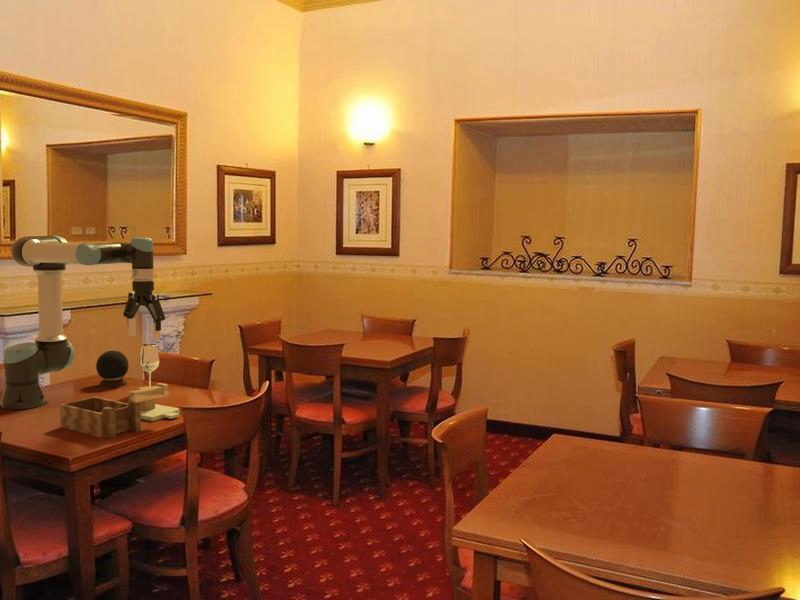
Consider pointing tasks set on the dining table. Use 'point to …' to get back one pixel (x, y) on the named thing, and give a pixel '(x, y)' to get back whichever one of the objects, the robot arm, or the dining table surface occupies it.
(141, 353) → the wineglass
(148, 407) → the lid
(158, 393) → the light wooden bar
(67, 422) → the wooden box
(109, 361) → the dark ball on base
